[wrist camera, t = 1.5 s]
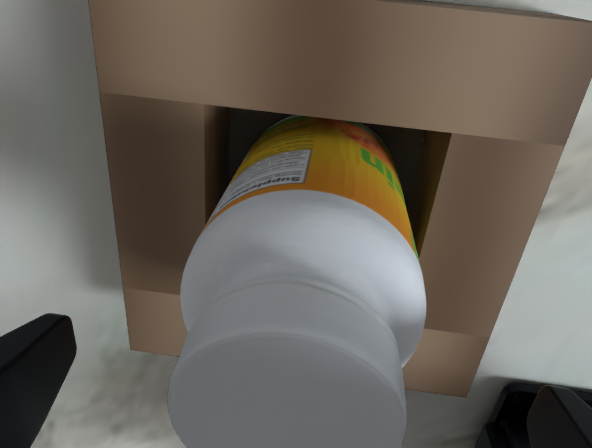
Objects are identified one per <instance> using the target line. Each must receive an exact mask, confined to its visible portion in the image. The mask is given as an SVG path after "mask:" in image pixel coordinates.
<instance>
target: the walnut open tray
mask: <svg viewBox="0 0 592 448" xmlns="http://www.w3.org/2000/svg"><path fill="white" fill-rule="evenodd" d="M88 2H89V11H90V19H91V27H92V35H93V44H94V52H95V60H96V69H97V77H98V85H99V94H100V102H101V110H102V118H103V127H104V135H105V143H106V152H107V160H108V168H109V176H110V185H111V193H112V201H113V210H114V218H115V226H116V235H117V243H118V251H119V259H120V268H121V276H122V284H123V293H124V301H125V309H126V318H127V326H128V334H129V342H130V350H135V351H142V352H149V353H156V354H163V355H170V356H177V357H179V356H180V354H181V351H182V349H183V346H184V343H185V339H186V337H187V335H188V331H187V329H186V326H185V323H184V320H183V315H182V310H181V300H180V291H181V282H182V276H183V272H184V269H185V266H186V263H187V260H188V258H189V256H190V254H191V251H192V249H193V247H194V245H195V243H196V241H197V239H198V237H199V236H200V234H201V232H202V231H203V229H204V227H205V226H206V224H207V222H208V220H209V219H210V217H211V215H212V213H213V212H214V210H215V208H216V206H217V205H218V203H219V201H220V199H221V198H222V196H223V194H224V192H225V191H226V189H227V187H228V184H229V127H230V107H232V108H241V109H250V110H258V111H267V112H276V113H284V114H293V115H301V116H310V117H319V118H327V119H336V120H345V121H353V122H362V123H370V124H379V125H388V126H396V127H405V128H413V129H422V130H427V132H426V137H425V141H424V145H423V150H422V154H421V158H420V162H419V167H418V171H417V175H416V179H415V184H414V188H413V192H412V197H411V201H410V205H409V209H408V218H409V222H410V226H411V230H412V234H413V238H414V242H415V246H416V251H417V254H418V258H419V263H420V266H421V270H422V275H423V281H424V287H425V294H426V318H425V323H424V328H423V332H422V335H421V338H420V341H419V343H418V345H417V347H416V349H415V351H414V353H413V354H412V356H411V357H410V359H409V360H408V362H407V363H406V364H405V366H404V367H403V368H402V372H403V380H404V389H408V390H415V391H422V392H429V393H436V394H443V395H450V396H457V397H464V398H466V397H467V394H468V392H469V389H470V387H471V384H472V381H473V379H474V376H475V374H476V371H477V369H478V366H479V364H480V361H481V359H482V356H483V353H484V351H485V348H486V346H487V343H488V341H489V338H490V336H491V333H492V331H493V328H494V325H495V323H496V320H497V318H498V315H499V313H500V310H501V308H502V305H503V302H504V300H505V297H506V295H507V292H508V290H509V287H510V285H511V282H512V280H513V277H514V274H515V272H516V269H517V267H518V264H519V262H520V259H521V257H522V254H523V252H524V249H525V246H526V244H527V241H528V239H529V236H530V234H531V231H532V229H533V226H534V223H535V221H536V218H537V216H538V213H539V211H540V208H541V206H542V203H543V201H544V198H545V195H546V193H547V190H548V188H549V185H550V183H551V180H552V178H553V175H554V173H555V170H556V167H557V165H558V162H559V160H560V157H561V155H562V152H563V150H564V147H565V144H566V142H567V139H568V137H569V134H570V132H571V129H572V127H573V124H574V122H575V119H576V116H577V114H578V111H579V109H580V106H581V104H582V101H583V99H584V96H585V94H586V91H587V88H588V86H589V83H590V81H591V78H592V21H589V20H584V19H579V18H574V17H569V16H564V15H558V14H549V13H539V12H529V11H520V10H510V9H500V8H491V7H481V6H471V5H461V4H452V3H442V2H432V1H422V0H88Z"/></svg>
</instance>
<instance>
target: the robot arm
mask: <svg viewBox="0 0 592 448" xmlns="http://www.w3.org/2000/svg"><path fill="white" fill-rule="evenodd" d="M76 350H77V347H76V341H75V336H74V330H73V325H72V321H71V319H70V317H69V316H66V315H60V314H53V313H48V314H45V315H42V316H40V317H38V318H36V319H34V320H32V321H30V322H29V323H27V324H25V325H23V326H21V327H19V328H17V329H15V330H13V331H11V332H9V333H7V334H5V335H3V336H1V337H0V448H30V447H31V445H32V443H33V442H34V440H35V438H36V436H37V435H38V433H39V431H40V429H41V427H42V425H43V423H44V421H45V419H46V417H47V415H48V413H49V411H50V409H51V407H52V405H53V403H54V401H55V399H56V397H57V394H58V392H59V390H60V388H61V386H62V384H63V382H64V380H65V378H66V376H67V374H68V371H69V369H70V367H71V365H72V363H73V361H74V359H75V356H76ZM515 395H517V396H515ZM474 448H592V394H591V393H584V392H576V391H571V390H570V389H568V388H566V387H560V386H553V385H544V386H543V387H541V386H534V385H527V384H520V383H513V384H509V385H507V386H506V387H505V388H504V389H503V390H502V393H501V395H500V397H499V399H498V402H497V404H496V406H495V408H494V411H493V413H492V415H491V417H490V420H489V421H488V422H487V423H486V424H485V425H484V427H483V429H482V431H481V434H480V436H479V438H478V441H477V443H476V445H475V447H474Z"/></svg>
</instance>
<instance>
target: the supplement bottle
mask: <svg viewBox="0 0 592 448" xmlns="http://www.w3.org/2000/svg"><path fill="white" fill-rule="evenodd" d="M180 300H181V310H182V315H183V320H184V323H185V326H186V329H187V331H188V335H187V337H186V339H185V343H184V346H183V349H182V351H181V354H180V356H179V359H178V361H177V364H176V366H175V369H174V371H173V374H172V377H171V380H170V383H169V388H168V400H167V404H168V412H169V415H170V419H171V422H172V425H173V427H174V429H175V431H176V433H177V435H178V436H179V438H180V439H181V441H182V442H183V444H184V445H185V446H186V447H187V448H400V447H401V444H402V442H403V439H404V435H405V432H406V425H407V409H406V399H405V389H404V380H403V372H402V368H403V367H404V366H405V364H406V363H407V362H408V360H409V359H410V357H411V356H412V354H413V353H414V351H415V349H416V347H417V345H418V343H419V341H420V338H421V335H422V332H423V328H424V323H425V318H426V294H425V287H424V281H423V275H422V270H421V266H420V263H419V258H418V254H417V251H416V246H415V242H414V238H413V234H412V230H411V226H410V222H409V218H408V214H407V210H406V205H405V201H404V196H403V192H402V188H401V183H400V179H399V175H398V171H397V168H396V165H395V162H394V160H393V157H392V155H391V153H390V151H389V149H388V148H387V146H386V145H385V143H384V142H383V141H382V140H381V138H380V137H379V136H378V135H377V134H376V133H375V132H373V131H372V130H371V129H370V128H369V127H367V126H366V125H364V124H363V123H361V122H353V121H345V120H336V119H327V118H319V117H310V116H301V115H293V116H290V117H287V118H285V119H283V120H281V121H279V122H277V123H275V124H274V125H272V126H271V127H269V128H268V129H267V130H266V131H265V132H263V133H262V134H261V136H260V137H259V138H258V139H257V140H256V141H255V143H254V144H253V145H252V147H251V148H250V149H249V151H248V153H247V154H246V156H245V158H244V159H243V161H242V163H241V164H240V166H239V168H238V170H237V172H236V173H235V175H234V177H233V178H232V180H231V182H230V184H229V185H228V187H227V189H226V191H225V192H224V194H223V196H222V198H221V199H220V201H219V203H218V205H217V206H216V208H215V210H214V212H213V213H212V215H211V217H210V219H209V220H208V222H207V224H206V226H205V227H204V229H203V231H202V232H201V234H200V236H199V237H198V239H197V241H196V243H195V245H194V247H193V249H192V251H191V254H190V256H189V258H188V260H187V263H186V266H185V269H184V272H183V276H182V282H181V291H180Z"/></svg>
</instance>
